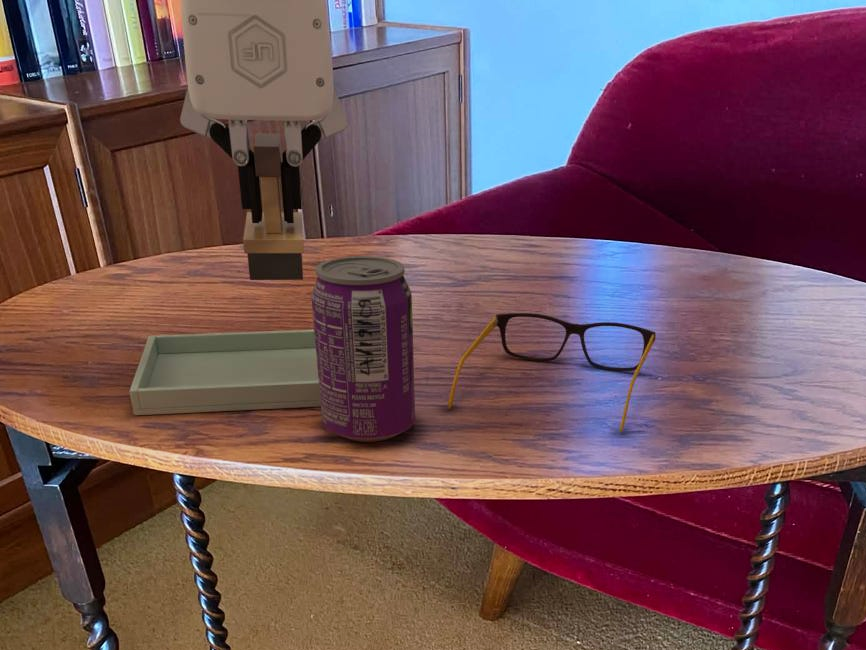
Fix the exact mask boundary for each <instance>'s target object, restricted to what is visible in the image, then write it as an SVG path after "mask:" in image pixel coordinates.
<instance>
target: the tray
mask: <svg viewBox="0 0 866 650" xmlns="http://www.w3.org/2000/svg"><path fill="white" fill-rule="evenodd" d="M128 393H129V397H130V401H131V406H132V411H133V416H148V415H149V416H151V415H170V414H193V413H211V412H215V413H216V412H229V411H230V412H235V411H252V410H253V411H254V410H276V409H294V408H296V409H297V408H319V407H321V403H320V391H319V380H318V368H317V357H316V345H315V333H314V329H292V330H271V331H270V330H265V331H263V330H262V331H238V332H237V331H235V332H212V333H210V332H209V333H208V332H207V333H184V334H183V333H182V334H180V333H179V334H157V335H156V334H155V335H148V337H147V340H146V343H145V346H144V348H143V352H142V354H141V357H140V360H139V363H138V367H137V368H136V371H135V374H134V376H133V380H132V383H131V385H130V389H129V392H128Z"/></svg>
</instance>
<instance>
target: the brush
mask: <svg viewBox="0 0 866 650" xmlns="http://www.w3.org/2000/svg"><path fill="white" fill-rule="evenodd" d="M254 135H255V136H254V140H253V141H254V142H253V153H254V159H255V170H256V176H257V177H259V179H260V190H261V202H262V221H259V223H252V214H251V211H246V217H245V223H244V231H243V237H242V244H243V253H244V254H247V265H248V275H249V280H250V281H303V280H304V270H303V269H304V268H303V254H305V246H304V227H303V226H304V225H303V212H301V211H293V214H294V223H287V221H284V211H282V203H281V190H280V189H281V187H280V178H281V162H282V152H281V139H280V138H281V137H280V133H276V132H275V133H273V132H272V133H271V132H268V133H267V132H256V133H255V134H254Z"/></svg>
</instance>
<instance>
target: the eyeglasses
mask: <svg viewBox="0 0 866 650" xmlns="http://www.w3.org/2000/svg"><path fill="white" fill-rule="evenodd" d="M512 318H537V319H542V320H547V321H550V322H554V323H556V324H558V325H560V326H562V327H563V328H564V330H565V335H564V338H563V341H562V343H561V346H560V348H559V349H558V351H557V352H556V354H554V355H553V356H551V357H543V358H542V357H541V358H539V357H533V356H528V355H527V356H526V355H522V354H519V353H515V352H513V351H511V350H510V349H509V348H508V346H507V340H506V330H507V325H508V322H509V321H510V319H512ZM496 327H497V328H498V329H499V334H500V339H501V345H502V349H503V351H504V352H505V353H506V354H507V355H509V356H511V357H514V358H517V359H522V360H526V361H533V362H552V361H554V360H556V359H557V358H558V357H559V356H560V354H561V353H562V352H563V350H564V348H565V346H566V344H567V342H568V340H569V338H570V336H571V335H577V336H579V339H580V344H581V348H582V352H583V354H584V356H585V359H586V360H587V362H588V364H590V366H592V367H595V368H597V369H600V370H604V371H605V370H606V371H614V372H632V371H633V372H634V373H633V375H632V378H631V381H630V384H629V387H628V391H627V395H626V400H625V404H624V409H623V412H622V417H621V421H620V425H619V426H620V427H619V432H620V433H623V431H624V427H625V423H626V419H627V415H628V414H627V413H628V409H629V404H630V399H631V396H632V393H633V392H632V391H633V388H634V385H635V382H636V380H637V377H638V375H639V373H640V371H641V370H642V367H643V365H644V363H645V361H646V358H647V357H648V355H649V353H650V351H651V349H652V347H653V346H654V343H655V341H656V335H657V333H656V331H653V330H650V329H647V328H643V327H640V326H636V325H633V324H628V323H621V322H611V321H609V322H608V321H605V322H602V321H601V322H593V323H583V324H581V323H572V322H569V321H565V320H562V319H560V318H557V317H553V316H550V315H546V314H540V313H530V312H511V313H499V314H498V313H497V314H496V315H495V316H494V318H493V319H492V320H490V322H489V323H488V324H487V325H486V327H485V328H484V329H483V330H482V332H481V333H480V334H479V335H478V337H476V339H475V340H474V342H473V343H472V344H471V345H470V347H468V349H467V350H466V351H465V352H464V354H463V355H462V357H461V359H460V361H459V363H458V366H457V368H456V371H455V374H454V379H453V382H452V385H451V390H450V393H449V397H448V400H447V408H448V409H451V408H452V406H453V402H454V398H455V392H456V389H457V384H458V380H459V376H460V373H461V370H462V367H463V365H464V363H465V361H466V359H467V358H468V357H470V355H471V354H472V353H473V352H474V351H475V349H476V348H478V346H479V345H480V344H481V343H482V342H483V341H484V340H485V338H486V337H487V336H489V335H490V334H491V332H493V331H494V330H495V329H496ZM598 327H614V328H615V327H616V328H623V329H624V328H625V329H629V330H633V331H636V332H638V333H639V334H641V336H642V340H643V348H642V354H641V356H640V357H641V358H640V359H639V362H638V363H637V364H636V365H634V366H630V367H613V366H605V365H602V364H599V363H597V362H594V361H592V359H591V357H590V355H589V353H588V350H587V347H586V342H585V333H586V332H587V330H589V329H593V328H598Z"/></svg>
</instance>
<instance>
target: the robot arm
mask: <svg viewBox="0 0 866 650" xmlns="http://www.w3.org/2000/svg"><path fill="white" fill-rule="evenodd" d="M180 11H181V12H180V13H181V25H182V26H181V27H182V39H183V51H184V64H185V74H186V81H187V88H186V91H185V95H184V101H183V105H182V109H181V113H180V117H179V122H180V125H181V126H182V127H183V128H185V129H186V130H189V131H191V132H193V133H196V134H198V135H201V136H202V137H206V138H208V139H211V140H212V141H213V142H214V143H215V144H216V145H217V146H219V147H220V149H222V150H223V151H224V153H226V154H227V156H228V157H230V158H231V159H232V161H233V163H234V164H235V165H236V166H237V172H238V183H239V190H240V191H239V192H240V200H241V208H242V210H250V212H251V214H252V223H259V221H262V212H263V201H262V190H261V179H260V177H257V176H256V170H255V159H254V151H252V149H251V146H250V136H249V135H250V134H249V127H248V121H276V122H277V121H278V122H279V121H280V122H281V121H283V130H284V131H283V132H284V145H285V149H284V151H283V152H281V177H280V182H281V183H280V185H281V193H282V194H281V196H282V209H283V211H282V212H284V221H287V223H294V214H293V212H294V210H303V202H302V189H301V186H302V185H301V176H300V175H301V173H300V165H301V164H302V163H303V161H304V160H305V158H306V157H307V156H308V155H309V154H310V153H311V151H312V150H313V149H314V148H315V147H316V145H317V144H318V143H319V142H320V141H323V140H324V139H327V138H330V137H332V136H334V135H337V134H339V133H341V132H343V131H345V130H347V128H348V126H349V125H348V124H349V123H348V119H347V116H346V114H345V111H344V108H343V106H342V104H341V100H340V98H339V96H338V94H337V91H336V89H335V85H334V69H333V58H332V57H333V55H332V45H331V44H332V43H331V34H330V33H331V32H330V24H329V23H330V21H329V12H328V4H327V0H180ZM221 120H225V121H226V120H227V122H228V125H227V124H226V123H224V122H223V121H221ZM302 121H303V122H304V121H305V122H307V121H308V123H307V124H306V125H305V126H304V127H303V128H302V124H301V122H302ZM309 121H310V122H309Z"/></svg>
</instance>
